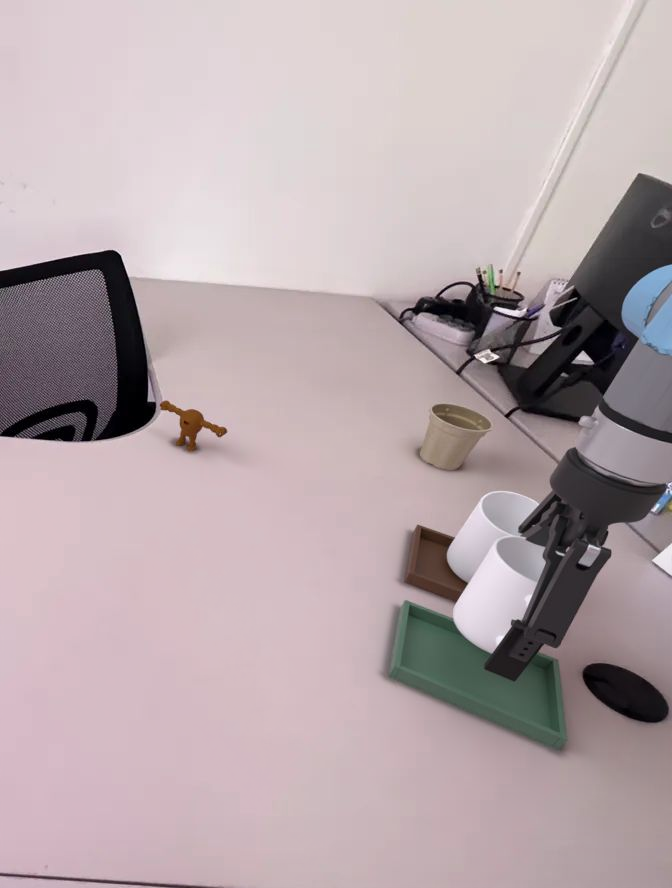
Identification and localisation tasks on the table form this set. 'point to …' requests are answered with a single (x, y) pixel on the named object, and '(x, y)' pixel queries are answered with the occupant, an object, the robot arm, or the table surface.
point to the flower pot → (452, 434)
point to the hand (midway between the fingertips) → (498, 633)
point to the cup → (499, 591)
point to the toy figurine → (191, 425)
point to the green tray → (476, 677)
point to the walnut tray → (432, 564)
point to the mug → (487, 530)
